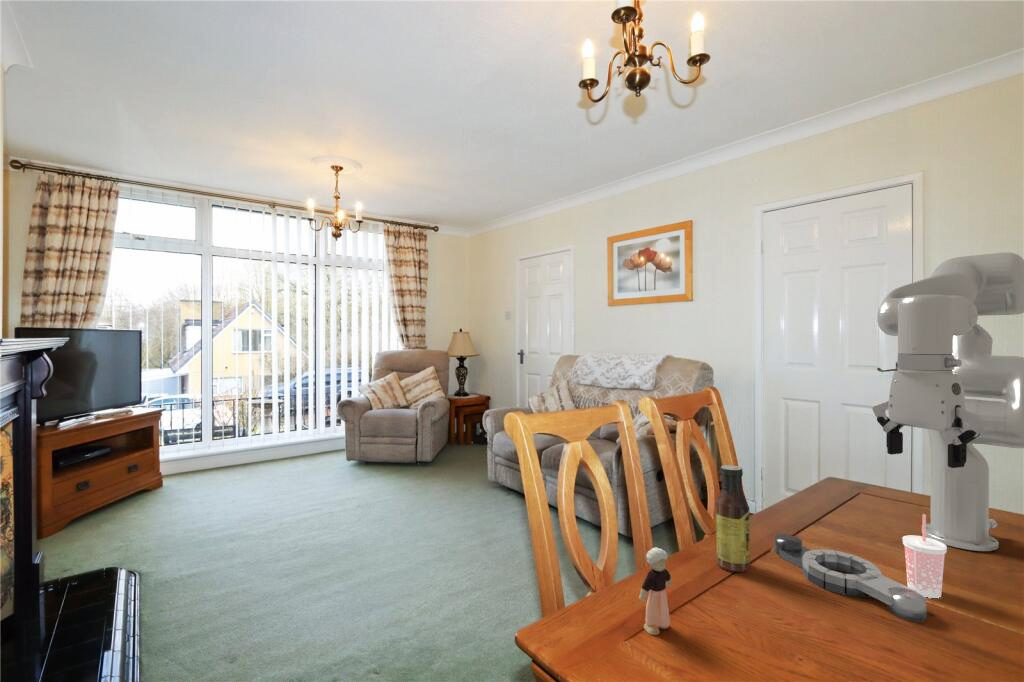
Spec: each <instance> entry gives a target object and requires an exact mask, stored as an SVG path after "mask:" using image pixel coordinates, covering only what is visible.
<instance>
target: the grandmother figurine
mask: <svg viewBox="0 0 1024 682" xmlns="http://www.w3.org/2000/svg"><path fill="white" fill-rule="evenodd" d="M668 558H669V557H668V554H667V552H666V551H665V550H663V549H662V548H658V547H657V546H656V547H653V548H651V549H650V550H648V551H647V553H646V561H647V564H649V566H650V568H651V569H650V570H649V571H648V572H647V575H646V577H645V579H644V581H643V583H642V586H641V589H640V592H639V593H640V594H639V595H638V600H639V601H640V602H645V601H646V598H647V601H646V605H645V621H644V622H645V623H644V625H643V628H644V630H645V631H646V632H647V634H649V635H651V636H658V635H659V634H660V632H661V631H660V629H662V630H667V629H668V628H670V626H671V619H670V618H671V617H670V612H669V611H670V610H669V605H668V595H667V590H666V587H673V581H672V577H671V574H670V572H669V571H668V570H667V568H666V566H667V562H666V561H667V560H668ZM647 596H648V597H647Z"/></svg>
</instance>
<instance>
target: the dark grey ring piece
mask: <svg viewBox="0 0 1024 682" xmlns="http://www.w3.org/2000/svg"><path fill="white" fill-rule="evenodd" d="M811 550H812V549H810V548H808V547H806V546H804V545H803V540H802V539H801V538H799V537H797V536H795V535H791V534H786V533H785V534H783V533H779V534H776V535H774V552H775V554H776V555H778V556H779V558H781V559H783V560H785V561H787V562H789V563H791V564H793V565H794V566H796V567H799V568H800V569H801V571H802V572H801V573H802V574H803V575H804V577H805V578H806V579H807V580H808V582H810V583H812V584H813V585H816V586H818V587H819V588H821V589H823V590H825V591H828V592H831V593H836V594H839V595H841V596H847V597H856V598H870V597H872V596H870V595H868V594H866V593H864V592H862V591H860V590H858V589H856V588H847V587H846V586H845V587H843V586H839V585H836V584H832V583H829V582H825V581H823V580H821V579H819V578H817V577H815V576H814V575H812V574H810V573H808V572H807V570H806V569H805V568H804V567H803V565H802V557H803V555H804V553H805V552H806V551H811ZM818 564H819V565H821V566H823V567H825V568H827V569H829V570H833V571H840V572H844V573H846V574H853V575H859V574H863V572H862V571H861V570H858V569H856V568H854V567H852V566H850V565H846V564H842V563H838V562H828V561H824V562H819V563H818Z"/></svg>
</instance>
